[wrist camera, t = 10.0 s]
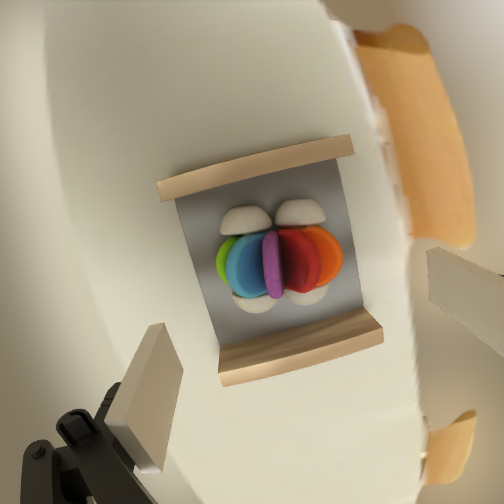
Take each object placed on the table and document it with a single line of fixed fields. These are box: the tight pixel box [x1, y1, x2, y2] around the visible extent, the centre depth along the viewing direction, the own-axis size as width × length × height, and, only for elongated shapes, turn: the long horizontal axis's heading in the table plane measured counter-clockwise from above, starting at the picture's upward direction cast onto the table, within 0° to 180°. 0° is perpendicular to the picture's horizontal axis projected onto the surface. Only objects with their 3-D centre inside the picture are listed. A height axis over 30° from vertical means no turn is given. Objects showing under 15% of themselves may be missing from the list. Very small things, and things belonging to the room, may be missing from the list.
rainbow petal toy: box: [216, 198, 343, 313], centre depth 24 cm, size 8×10×7 cm
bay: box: [156, 134, 384, 387], centre depth 25 cm, size 17×14×5 cm
